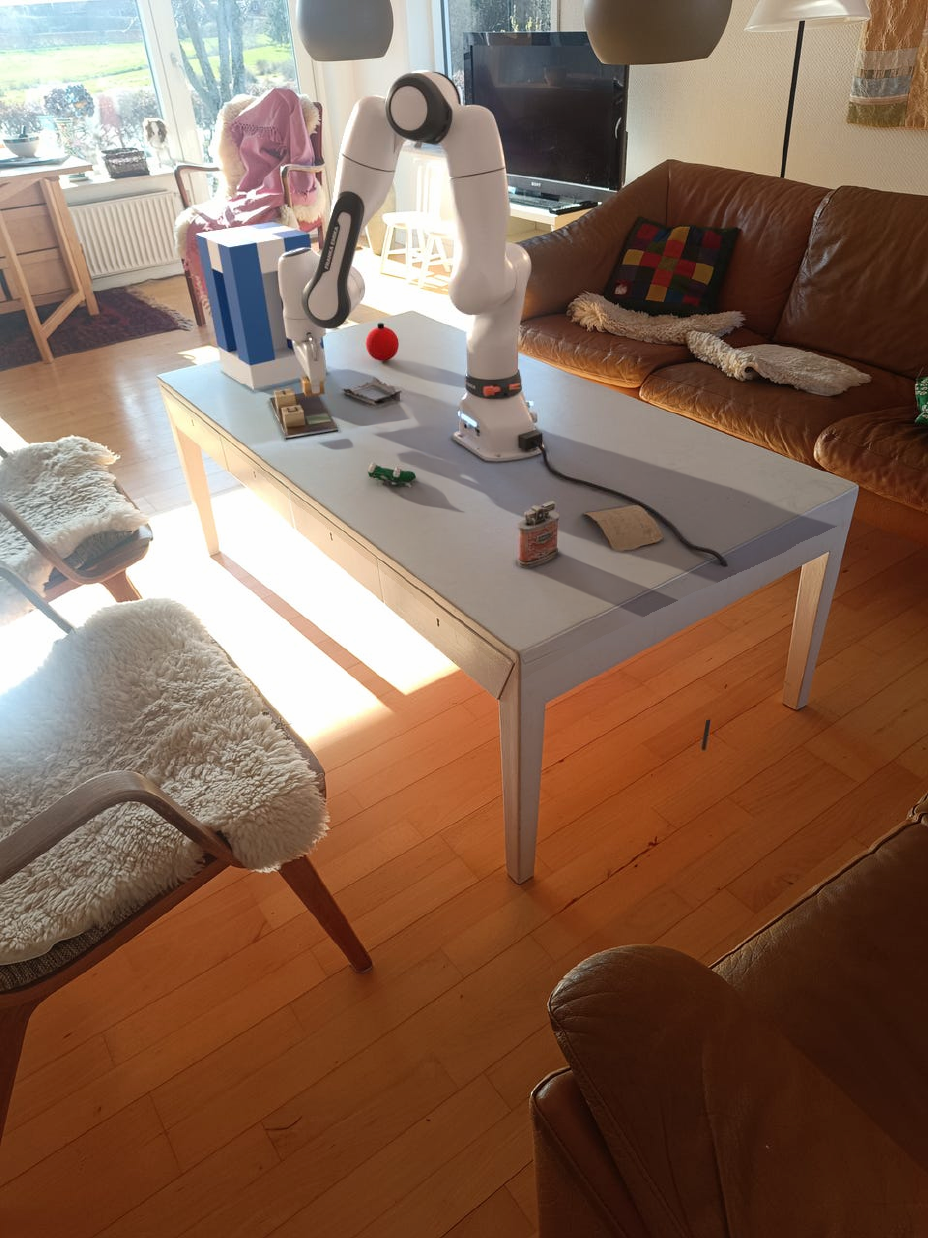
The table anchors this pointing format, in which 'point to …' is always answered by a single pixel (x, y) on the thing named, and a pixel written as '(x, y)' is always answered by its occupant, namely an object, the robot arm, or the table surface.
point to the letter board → (308, 411)
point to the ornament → (382, 343)
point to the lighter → (538, 535)
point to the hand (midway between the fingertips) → (313, 388)
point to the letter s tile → (307, 387)
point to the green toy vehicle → (390, 474)
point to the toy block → (251, 301)
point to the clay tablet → (627, 527)
